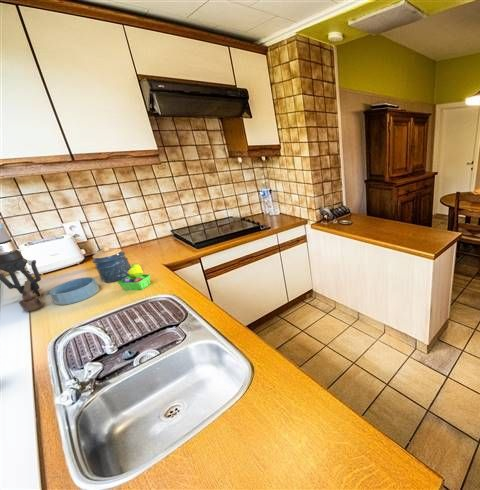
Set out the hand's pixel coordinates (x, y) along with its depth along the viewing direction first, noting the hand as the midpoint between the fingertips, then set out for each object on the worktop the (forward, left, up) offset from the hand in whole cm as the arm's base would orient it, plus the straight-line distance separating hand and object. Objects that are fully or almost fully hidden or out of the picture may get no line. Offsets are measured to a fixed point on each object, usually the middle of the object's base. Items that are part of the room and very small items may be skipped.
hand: (34, 296), depth 126 cm
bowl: (+14, +14, -1) cm, 20 cm away
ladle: (+4, 0, 0) cm, 4 cm away
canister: (+5, +30, -1) cm, 30 cm away
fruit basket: (+28, +35, -2) cm, 45 cm away
